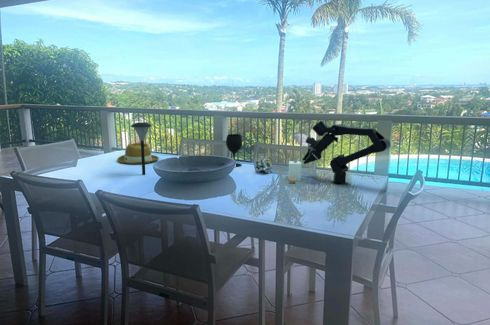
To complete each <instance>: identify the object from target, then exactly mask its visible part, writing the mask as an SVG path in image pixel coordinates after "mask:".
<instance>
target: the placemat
mask: <svg viewBox="0 0 490 325" xmlns="http://www.w3.org/2000/svg"><path fill="white" fill-rule="evenodd" d="M309 180H310V177H307V176H306V177H305V176H301V181H296V182H295V183H294V184H291V183H290V182H289V179H288V175H284V176H283V177H282V178H281V179H280V180H279V181H278V182H277V183H276V184H275V185H276V186H283V187H284V186H285V187H294V188H303V187H304V186H305V184H307V182H308V181H309Z"/></svg>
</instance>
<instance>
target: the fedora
mask: <svg viewBox="0 0 490 325" xmlns="http://www.w3.org/2000/svg"><path fill="white" fill-rule="evenodd" d="M144 155H145V164H150V163H153V162H156V161H158V159H160V158H159V156H157V155H153V154H152V152H151V148H150V145H149V144H148V143H146V142H144ZM116 160H117V161H118V162H119V163H121V164H128V165H130V164H131V165H142V158H141V142H135V143H134V142H133V143H129V144H127V146H126V148H125V152H124V154H122V155H119V157H118V158H117V159H116Z"/></svg>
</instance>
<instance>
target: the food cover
mask: <svg viewBox="0 0 490 325" xmlns="http://www.w3.org/2000/svg"><path fill="white" fill-rule="evenodd" d="M302 166H303V165H302V162H301V160H300V161H297V160H293V161H292V160H289V161H288V175H287V176H288V179H289V178H291V177H293V178H296V181H301V177H302Z"/></svg>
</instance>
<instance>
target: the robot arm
mask: <svg viewBox="0 0 490 325" xmlns="http://www.w3.org/2000/svg"><path fill="white" fill-rule="evenodd" d="M312 130H313V131H314V132H315V134H317V136H318V137H321V138H320V139H317V140H316V139H315V138H314V137H310V136H307V137H306V139H305V143H306V144H309V145H308V146H307V152H306V153H305V155H304V156H303V158H302V162H303V164H304V165H305V164H309V163H312V162H315V161H318V160H320V159H321V158H322V153H323V152H324V151H325V150H327V149H328V147H330V146H331V144H333V143H334V142H336V143H337V144H338V143H339V139H340V138H339V136H344V135H351V136H352V135H353V136H365V137H366V136H367V137H368V138H369V139H370V142H371V143H372V144H371V145H369V146H367V147H366V148H362V149H360V150H358V151H356V152H352V153H351V154H348V155H345V154H344V153H342V154H340V155H337V156H334V157H332V159H331V160H330V162H329V165H330V168H331V170H332V173H333V180H331V183H332V184H333V183H334V184H335V185H347V184H348V181H346V178H347V172H348V171H349V166H348V164H349V163H351V162H353V161H356V160H359V159H361V158H364V157H366V156H368V155H371V154H377V153H381V152H384V151H388V150H389V149H390V147H391V142H390V140H389V139H387V138H385V137H384V135H382V134H381V133H380V132H379V131H378V130H377V129H376V128H375V127H371V128H370V127H369V128H368V127H356V126H355V127H354V126H347V125H344V124H340V123H338V124H332V125H331V126H329V127H328V126H327V125H326V124H325V123H324V121H323V120H321V121H319V122H318V123H316V124H314V125H313V127H312Z"/></svg>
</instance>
